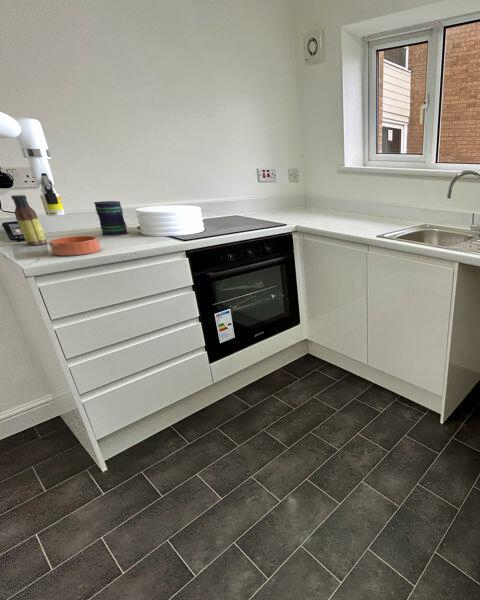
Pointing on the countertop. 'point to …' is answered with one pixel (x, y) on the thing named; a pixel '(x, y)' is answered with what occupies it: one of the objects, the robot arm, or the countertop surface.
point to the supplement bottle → (52, 205)
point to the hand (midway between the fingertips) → (52, 202)
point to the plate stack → (170, 220)
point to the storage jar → (111, 218)
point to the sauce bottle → (28, 221)
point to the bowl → (74, 245)
